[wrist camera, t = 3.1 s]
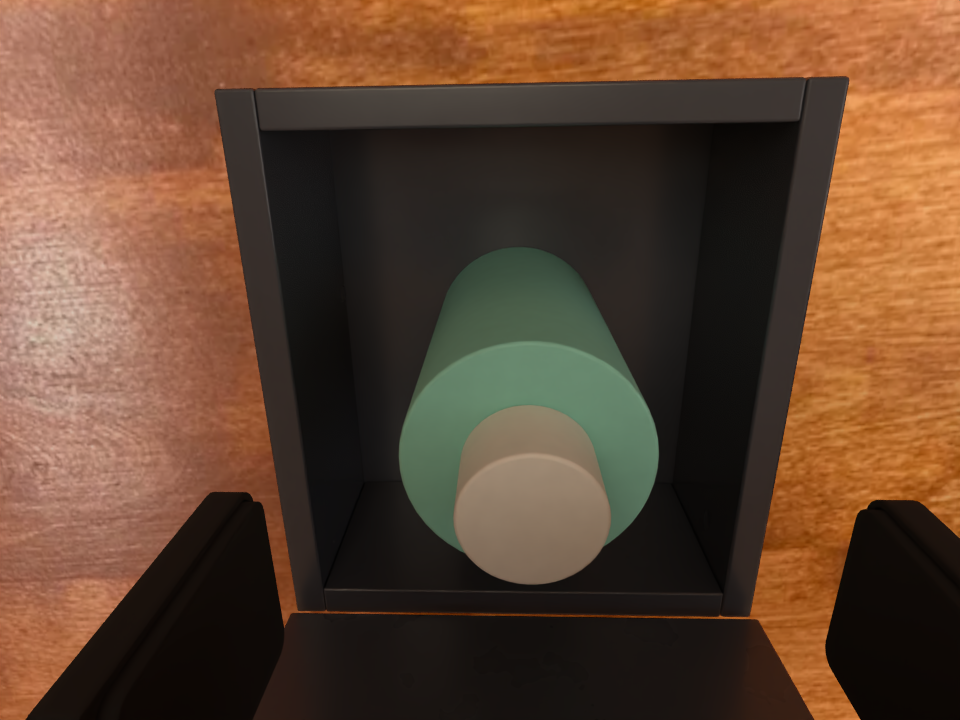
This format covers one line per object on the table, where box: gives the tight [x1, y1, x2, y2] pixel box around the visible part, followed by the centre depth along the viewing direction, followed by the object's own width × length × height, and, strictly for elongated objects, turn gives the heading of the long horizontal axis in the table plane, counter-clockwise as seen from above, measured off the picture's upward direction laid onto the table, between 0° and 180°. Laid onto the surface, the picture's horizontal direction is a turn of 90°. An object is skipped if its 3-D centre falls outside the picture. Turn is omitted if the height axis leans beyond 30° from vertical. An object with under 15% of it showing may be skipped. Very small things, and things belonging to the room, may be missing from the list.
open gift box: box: [215, 76, 849, 617], centre depth 19 cm, size 15×14×7 cm
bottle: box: [399, 247, 659, 585], centre depth 16 cm, size 5×5×12 cm
